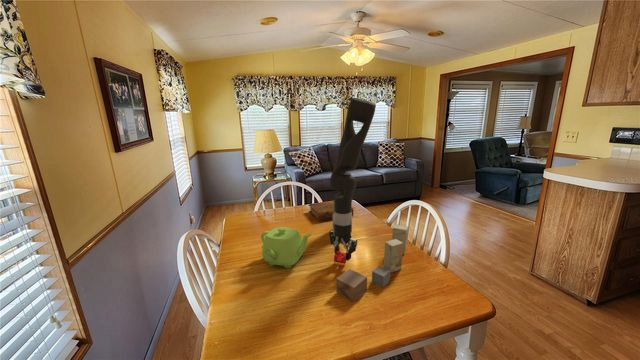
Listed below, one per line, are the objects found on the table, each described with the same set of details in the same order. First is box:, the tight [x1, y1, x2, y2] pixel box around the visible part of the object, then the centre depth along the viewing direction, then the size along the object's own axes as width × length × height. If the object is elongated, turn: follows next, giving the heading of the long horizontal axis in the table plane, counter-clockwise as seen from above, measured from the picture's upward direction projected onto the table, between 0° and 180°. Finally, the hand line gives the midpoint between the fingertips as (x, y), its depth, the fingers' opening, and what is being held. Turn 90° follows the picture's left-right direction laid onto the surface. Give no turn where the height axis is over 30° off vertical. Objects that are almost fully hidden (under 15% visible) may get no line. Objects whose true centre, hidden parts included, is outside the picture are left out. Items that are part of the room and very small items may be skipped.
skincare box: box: [383, 239, 403, 274], centre depth 111 cm, size 6×4×12 cm
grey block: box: [371, 265, 391, 289], centre depth 104 cm, size 5×5×5 cm
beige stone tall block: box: [391, 224, 409, 255], centre depth 125 cm, size 6×4×12 cm
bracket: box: [333, 251, 347, 265], centre depth 116 cm, size 6×5×3 cm
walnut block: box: [335, 268, 368, 303], centre depth 99 cm, size 8×8×6 cm
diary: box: [308, 199, 354, 223], centre depth 173 cm, size 23×19×6 cm
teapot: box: [260, 226, 313, 270], centre depth 116 cm, size 25×22×16 cm
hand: (342, 256), depth 116 cm, fingers closed on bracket, 5 cm apart
